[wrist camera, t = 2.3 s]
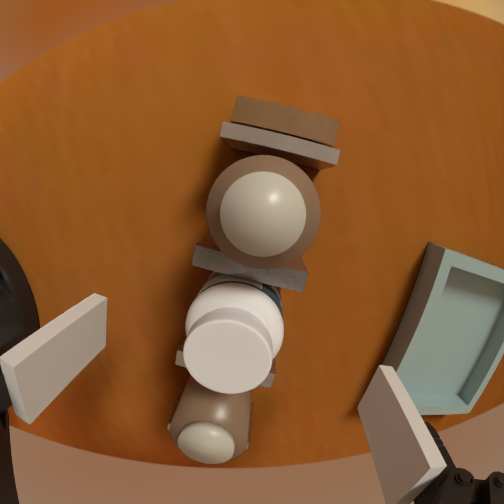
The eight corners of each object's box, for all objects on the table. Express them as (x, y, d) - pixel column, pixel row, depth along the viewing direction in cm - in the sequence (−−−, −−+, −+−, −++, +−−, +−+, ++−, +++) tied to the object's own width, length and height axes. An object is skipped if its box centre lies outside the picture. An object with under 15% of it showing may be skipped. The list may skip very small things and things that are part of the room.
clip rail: (180, 407, 24) (165, 445, 19) (242, 108, 18) (233, 84, 14) (245, 423, 24) (241, 464, 19) (329, 129, 18) (348, 112, 14)
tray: (365, 395, 23) (373, 413, 20) (428, 241, 20) (445, 248, 17) (458, 399, 23) (469, 413, 20) (516, 274, 20) (532, 281, 17)
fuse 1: (193, 381, 23) (163, 458, 14) (201, 335, 22) (168, 411, 13) (246, 394, 23) (237, 476, 14) (260, 350, 22) (255, 432, 13)
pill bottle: (277, 328, 22) (280, 409, 13) (206, 323, 22) (173, 398, 13) (283, 259, 20) (293, 311, 12) (207, 254, 21) (165, 301, 12)
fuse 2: (223, 227, 20) (191, 258, 12) (239, 160, 19) (217, 141, 11) (290, 244, 20) (305, 286, 12) (307, 177, 19) (337, 170, 11)
